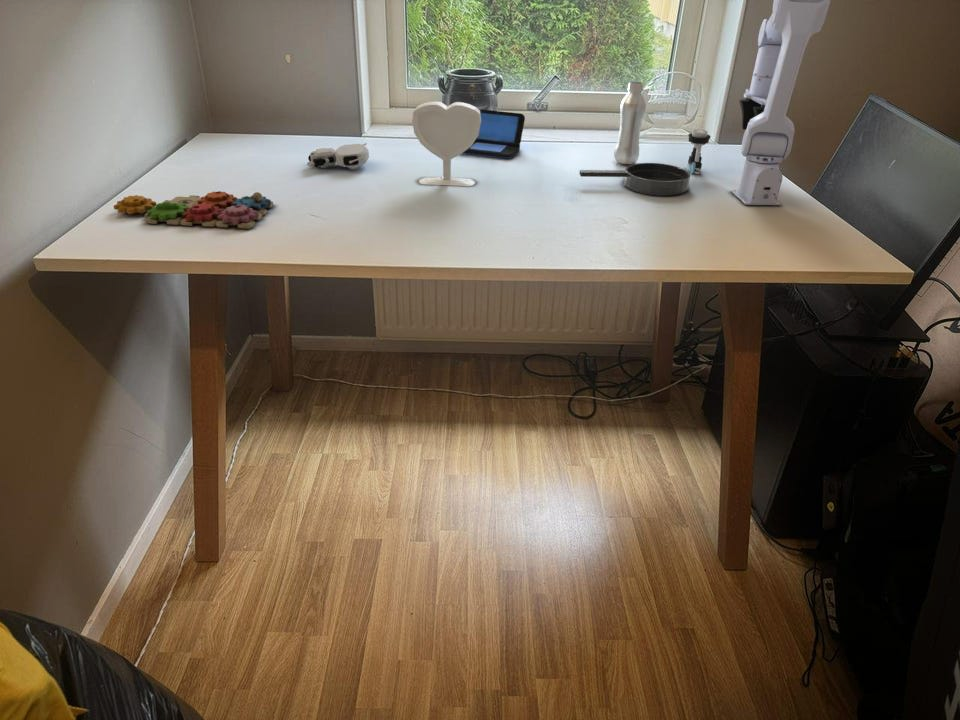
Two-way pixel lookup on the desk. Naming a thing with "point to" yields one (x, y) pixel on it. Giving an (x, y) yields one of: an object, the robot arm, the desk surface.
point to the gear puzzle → (200, 209)
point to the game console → (498, 134)
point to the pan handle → (603, 173)
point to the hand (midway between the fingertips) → (752, 133)
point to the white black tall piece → (697, 150)
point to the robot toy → (340, 156)
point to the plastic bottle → (630, 124)
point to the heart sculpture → (446, 134)
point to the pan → (657, 179)
